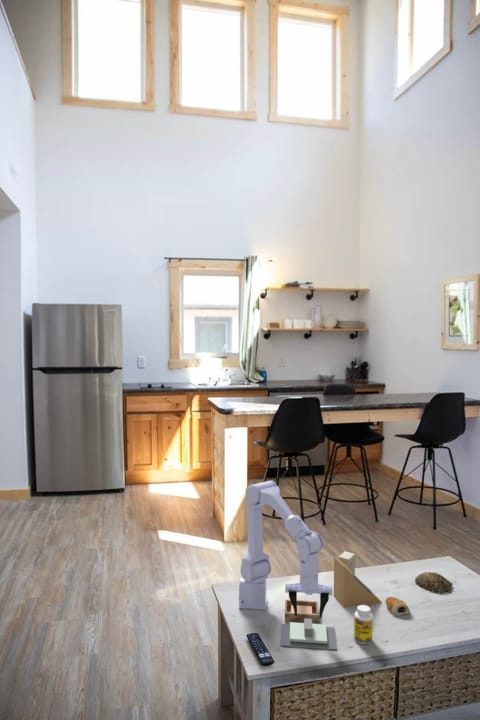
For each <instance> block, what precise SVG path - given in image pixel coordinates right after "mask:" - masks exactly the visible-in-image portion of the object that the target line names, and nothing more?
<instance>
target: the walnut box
mask: <svg viewBox="0 0 480 720" xmlns="http://www.w3.org/2000/svg"><path fill="white" fill-rule="evenodd" d="M284 603H285V604H284V606H285V607H284V622H285V623H290V622H294V623H304V618H306V619H312V624H319V605H318V601H315V600H298V599H297V616H295V613H294V608H293V605H292V603H291V600H290V599H285V602H284Z"/></svg>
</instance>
